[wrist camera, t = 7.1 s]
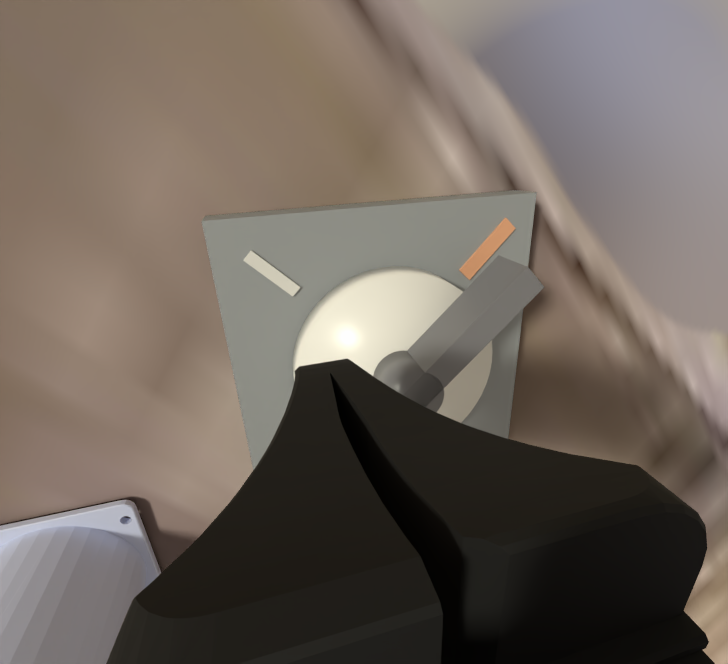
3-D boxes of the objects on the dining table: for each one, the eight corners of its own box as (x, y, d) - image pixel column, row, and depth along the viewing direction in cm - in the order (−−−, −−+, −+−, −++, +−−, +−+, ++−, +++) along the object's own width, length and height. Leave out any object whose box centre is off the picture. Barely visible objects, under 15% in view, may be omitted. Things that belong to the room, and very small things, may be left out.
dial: (387, 466, 22) (410, 518, 19) (249, 378, 18) (249, 425, 15) (538, 315, 20) (590, 344, 17) (425, 183, 16) (466, 190, 13)
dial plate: (493, 431, 25) (508, 448, 23) (259, 482, 22) (260, 505, 20) (516, 189, 19) (538, 192, 18) (205, 215, 16) (201, 221, 15)
